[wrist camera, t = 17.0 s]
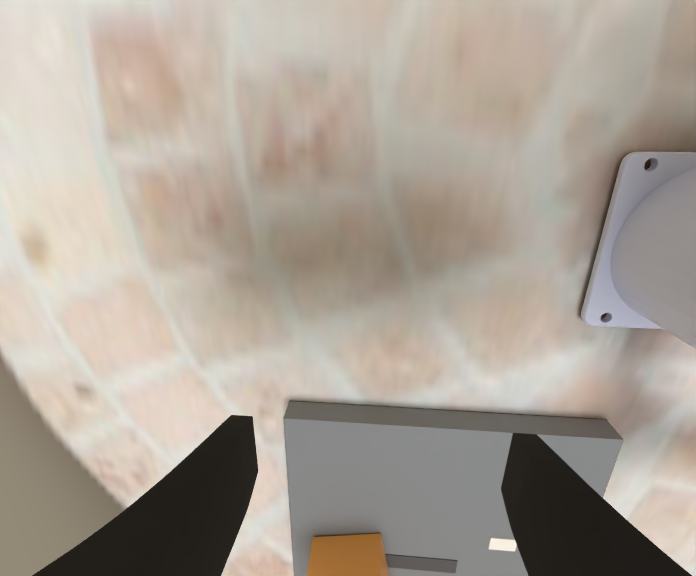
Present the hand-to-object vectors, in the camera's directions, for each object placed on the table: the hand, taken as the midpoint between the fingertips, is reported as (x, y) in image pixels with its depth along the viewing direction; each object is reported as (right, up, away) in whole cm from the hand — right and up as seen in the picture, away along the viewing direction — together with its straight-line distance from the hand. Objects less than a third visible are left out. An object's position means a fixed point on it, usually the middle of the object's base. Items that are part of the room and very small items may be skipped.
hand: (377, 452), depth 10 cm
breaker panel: (+5, -9, +13) cm, 17 cm away
